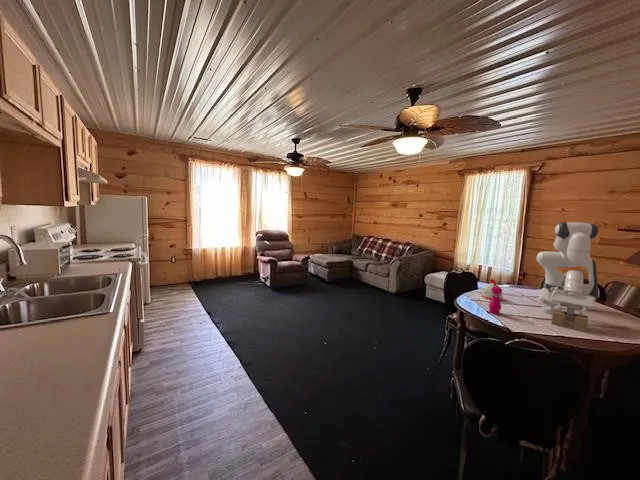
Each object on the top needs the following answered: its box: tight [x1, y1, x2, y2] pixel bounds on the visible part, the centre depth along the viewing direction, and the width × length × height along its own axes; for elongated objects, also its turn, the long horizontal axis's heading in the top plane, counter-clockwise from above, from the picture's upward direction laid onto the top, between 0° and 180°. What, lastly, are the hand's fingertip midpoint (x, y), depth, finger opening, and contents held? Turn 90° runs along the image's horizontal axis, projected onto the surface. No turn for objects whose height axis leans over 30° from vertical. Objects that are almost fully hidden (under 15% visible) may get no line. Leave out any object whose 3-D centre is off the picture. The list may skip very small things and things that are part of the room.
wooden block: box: [550, 308, 589, 333], centre depth 173 cm, size 8×16×8 cm, turn 49°
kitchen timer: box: [481, 278, 503, 302], centre depth 223 cm, size 14×14×15 cm
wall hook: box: [539, 298, 558, 315], centre depth 196 cm, size 9×10×10 cm
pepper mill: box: [488, 283, 503, 315], centre depth 191 cm, size 7×7×20 cm
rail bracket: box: [566, 306, 576, 316], centre depth 173 cm, size 4×4×10 cm
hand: (570, 311), depth 172 cm, fingers open, 8 cm apart
